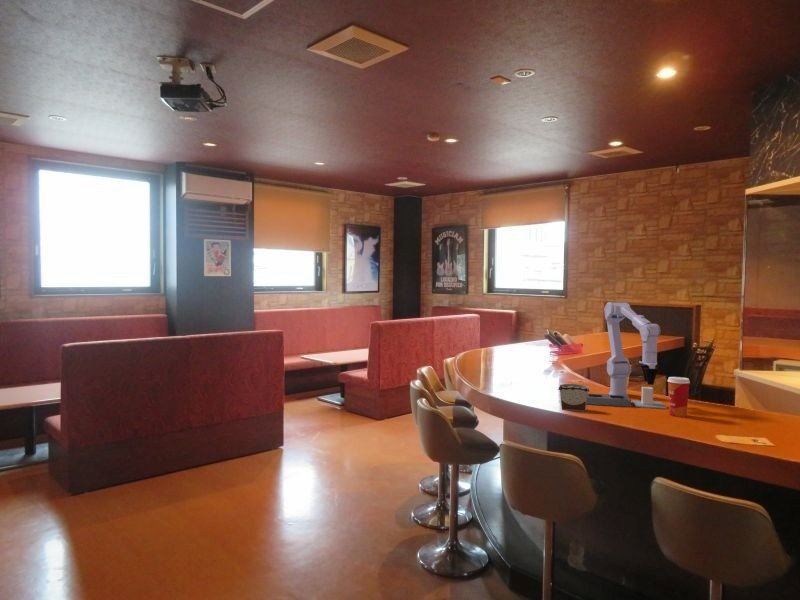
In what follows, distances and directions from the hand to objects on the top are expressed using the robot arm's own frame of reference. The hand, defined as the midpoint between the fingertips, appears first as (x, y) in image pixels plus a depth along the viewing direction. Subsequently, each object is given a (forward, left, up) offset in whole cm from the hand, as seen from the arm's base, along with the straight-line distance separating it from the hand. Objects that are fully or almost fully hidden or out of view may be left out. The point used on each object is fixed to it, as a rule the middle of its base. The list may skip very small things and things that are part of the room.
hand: (649, 383), depth 235 cm
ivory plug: (0, -1, -9) cm, 9 cm away
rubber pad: (0, 0, -10) cm, 10 cm away
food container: (+17, -32, -10) cm, 38 cm away
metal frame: (+1, -18, -10) cm, 20 cm away
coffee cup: (+17, +8, -10) cm, 21 cm away
